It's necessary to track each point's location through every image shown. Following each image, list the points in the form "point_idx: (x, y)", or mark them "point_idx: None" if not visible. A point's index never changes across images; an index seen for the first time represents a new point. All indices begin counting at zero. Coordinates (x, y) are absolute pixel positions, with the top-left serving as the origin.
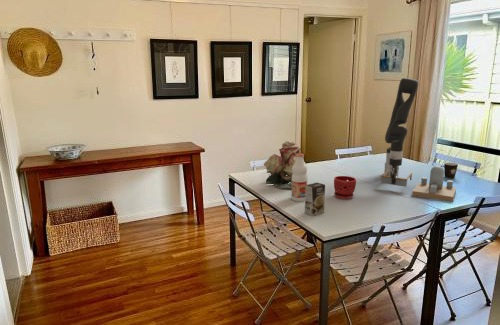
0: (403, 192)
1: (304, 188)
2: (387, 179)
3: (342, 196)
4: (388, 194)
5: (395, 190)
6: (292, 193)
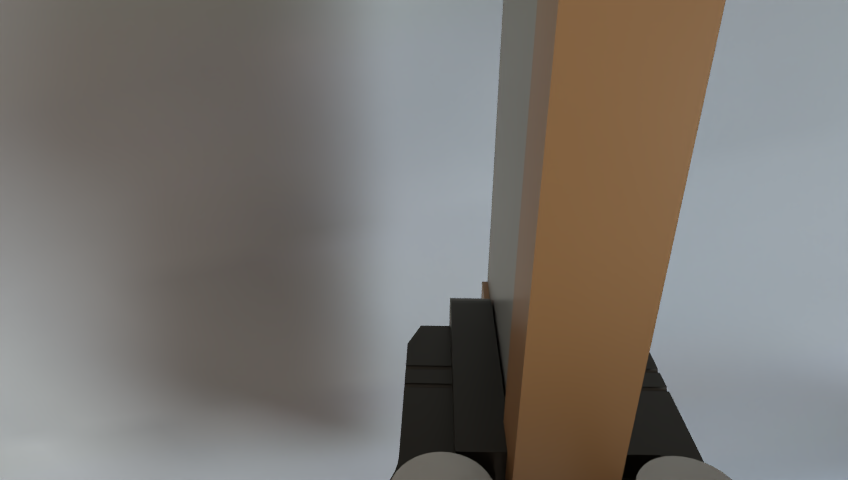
0: (393, 441)
1: None
2: (521, 189)
3: None
4: (30, 227)
5: (452, 294)
6: None
